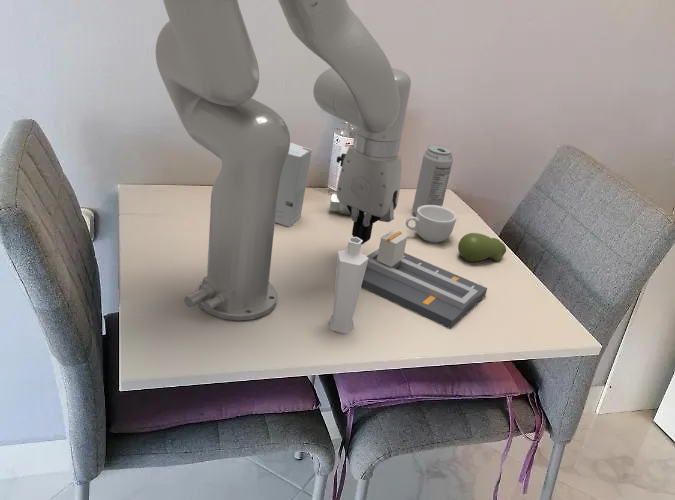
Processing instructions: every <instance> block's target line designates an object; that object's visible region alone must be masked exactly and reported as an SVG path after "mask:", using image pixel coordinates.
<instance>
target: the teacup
mask: <svg viewBox="0 0 675 500" xmlns="http://www.w3.org/2000/svg"><path fill="white" fill-rule="evenodd" d="M457 218H458V217H457V213H456V212H454V211H453V210H452V209H450V208H448V207H445V206H437V205H423V206H420V207H419V208H418V209H417V214H416V216H410V217H408V218H407V219H406V220H405V226H406V228H407V229H409V230H411V231H413V232H417V234H418V236H419V237H420V238H421V239H423V240H424V241H426V242H430V243H440V242H441V243H442V242H444V241H446V240H447V239H448V238H449V237H450V236H451V235H452V234H453V233H452V232H453V231H454V227H455V224H456V221H457ZM411 220H413V221H414V222H415V224H414V225H415V226H413V227H412V226H409V223H410V221H411Z"/></svg>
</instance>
